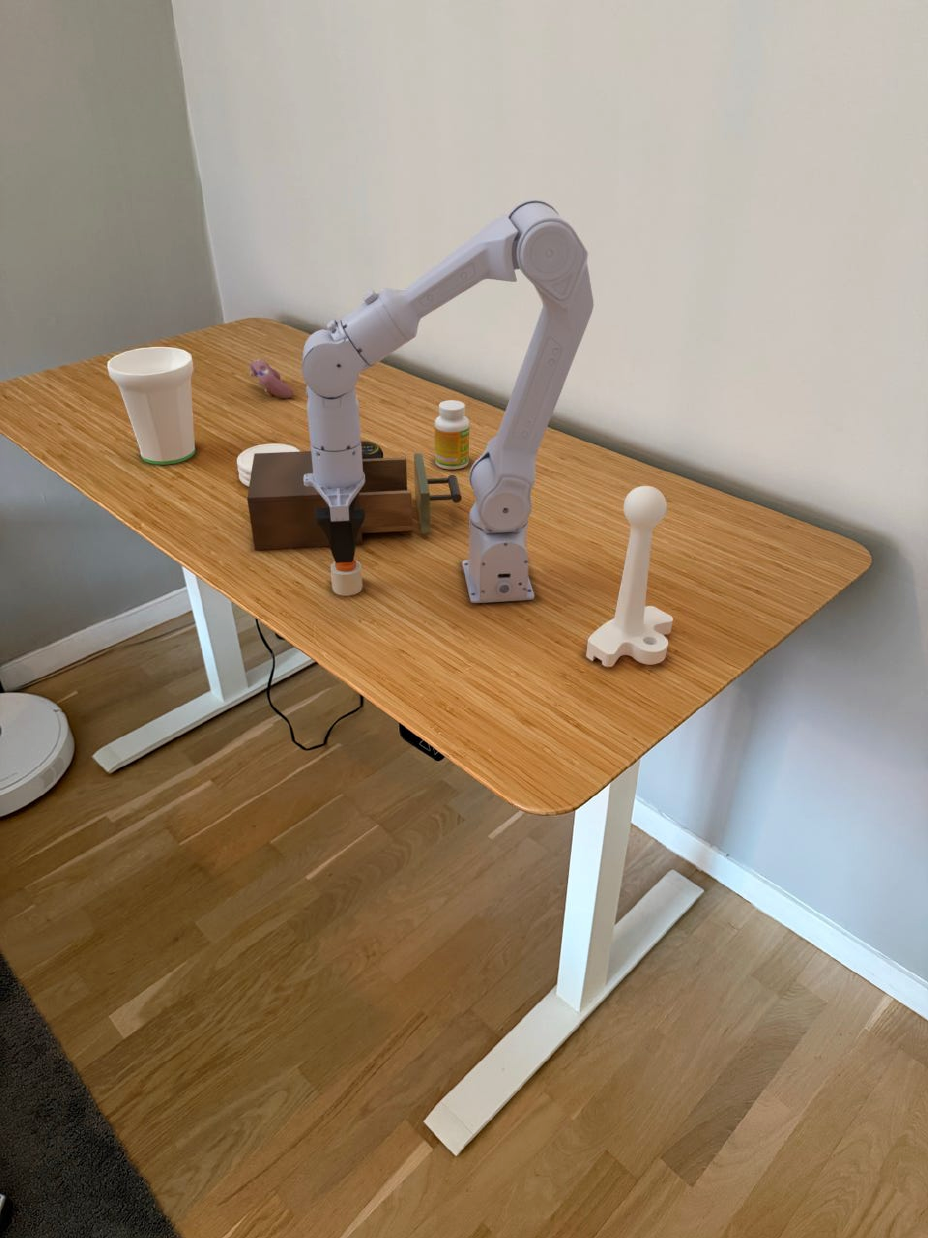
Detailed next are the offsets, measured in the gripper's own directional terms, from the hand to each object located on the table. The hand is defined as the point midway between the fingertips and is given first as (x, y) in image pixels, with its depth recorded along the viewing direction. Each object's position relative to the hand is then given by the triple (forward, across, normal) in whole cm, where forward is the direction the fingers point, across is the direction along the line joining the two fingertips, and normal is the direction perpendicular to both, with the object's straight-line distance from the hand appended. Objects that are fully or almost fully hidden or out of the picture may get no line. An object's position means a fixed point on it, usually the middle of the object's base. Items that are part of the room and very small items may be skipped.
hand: (343, 544), depth 109 cm
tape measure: (+6, -32, +3) cm, 33 cm away
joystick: (+6, +16, +33) cm, 37 cm away
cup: (+7, -42, -28) cm, 51 cm away
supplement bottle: (+6, -34, +17) cm, 39 cm away
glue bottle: (+6, 0, 0) cm, 6 cm away
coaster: (+7, -32, -11) cm, 34 cm away
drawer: (+5, -17, +7) cm, 19 cm away
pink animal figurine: (+7, -67, -13) cm, 69 cm away
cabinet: (+6, -17, -5) cm, 19 cm away
